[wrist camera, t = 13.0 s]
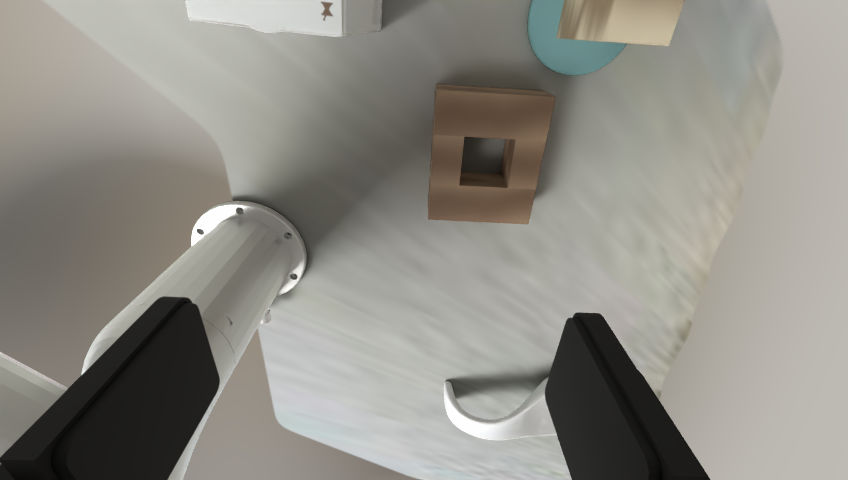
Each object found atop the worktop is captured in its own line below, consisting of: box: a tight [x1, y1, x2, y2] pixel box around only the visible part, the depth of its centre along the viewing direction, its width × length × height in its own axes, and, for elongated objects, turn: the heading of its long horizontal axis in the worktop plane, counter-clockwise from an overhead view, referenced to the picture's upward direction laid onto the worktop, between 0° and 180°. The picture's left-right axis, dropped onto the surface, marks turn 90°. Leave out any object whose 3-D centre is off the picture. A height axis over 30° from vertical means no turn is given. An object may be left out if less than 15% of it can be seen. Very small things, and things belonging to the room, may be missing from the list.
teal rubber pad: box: [527, 0, 627, 75], centre depth 31 cm, size 9×9×1 cm
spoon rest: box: [444, 376, 557, 440], centre depth 52 cm, size 24×12×7 cm, turn 94°
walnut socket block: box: [428, 84, 556, 224], centre depth 36 cm, size 12×10×4 cm
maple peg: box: [556, 0, 685, 46], centre depth 26 cm, size 4×4×10 cm
